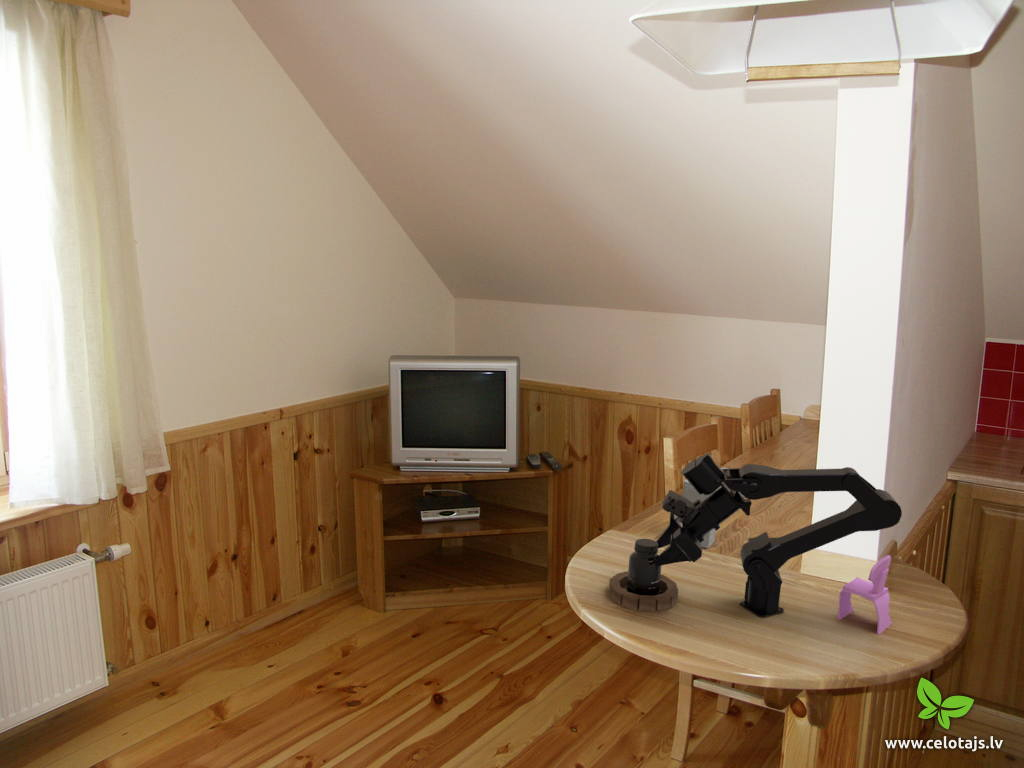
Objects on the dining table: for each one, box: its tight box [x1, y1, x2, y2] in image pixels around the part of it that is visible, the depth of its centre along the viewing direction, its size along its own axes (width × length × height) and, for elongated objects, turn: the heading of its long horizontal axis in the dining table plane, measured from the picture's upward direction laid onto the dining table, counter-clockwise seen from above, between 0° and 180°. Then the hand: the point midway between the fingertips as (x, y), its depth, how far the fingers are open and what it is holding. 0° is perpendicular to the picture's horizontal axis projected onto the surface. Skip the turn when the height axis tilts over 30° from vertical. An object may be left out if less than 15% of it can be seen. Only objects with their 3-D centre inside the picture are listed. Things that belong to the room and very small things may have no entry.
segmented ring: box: [608, 570, 679, 613], centre depth 174 cm, size 14×14×2 cm
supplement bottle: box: [626, 538, 663, 596], centre depth 173 cm, size 7×7×12 cm
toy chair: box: [837, 554, 893, 636], centre depth 164 cm, size 8×9×15 cm
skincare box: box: [681, 478, 721, 549], centre depth 203 cm, size 8×7×16 cm
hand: (654, 555), depth 172 cm, fingers open, 9 cm apart
